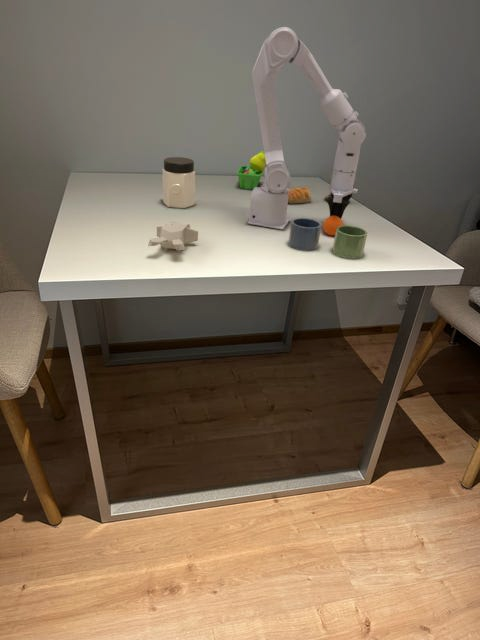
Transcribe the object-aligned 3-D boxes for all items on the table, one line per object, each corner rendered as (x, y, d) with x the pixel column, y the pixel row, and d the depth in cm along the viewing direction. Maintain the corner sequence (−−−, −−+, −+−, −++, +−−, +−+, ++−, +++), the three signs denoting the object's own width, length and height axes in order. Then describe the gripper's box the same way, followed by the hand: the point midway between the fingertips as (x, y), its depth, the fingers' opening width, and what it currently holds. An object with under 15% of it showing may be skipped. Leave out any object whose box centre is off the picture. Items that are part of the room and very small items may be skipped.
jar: (160, 206, 129) (159, 162, 123) (165, 198, 136) (165, 155, 130) (192, 209, 129) (193, 165, 123) (196, 201, 136) (197, 158, 130)
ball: (320, 237, 119) (322, 219, 116) (324, 227, 123) (326, 210, 120) (339, 240, 118) (342, 223, 115) (343, 231, 122) (346, 214, 119)
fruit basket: (240, 180, 160) (242, 146, 154) (266, 183, 159) (269, 148, 153) (235, 189, 150) (238, 152, 144) (263, 192, 149) (266, 155, 144)
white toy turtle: (202, 221, 109) (188, 236, 96) (201, 242, 111) (187, 260, 98) (162, 217, 110) (143, 231, 96) (162, 238, 112) (143, 255, 98)
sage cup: (330, 255, 108) (334, 232, 105) (334, 245, 113) (338, 223, 111) (361, 261, 106) (366, 238, 103) (363, 250, 112) (368, 228, 109)
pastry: (291, 206, 138) (292, 193, 136) (275, 200, 143) (276, 187, 141) (312, 202, 144) (314, 189, 142) (297, 196, 148) (298, 184, 146)
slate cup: (285, 247, 110) (288, 225, 107) (291, 237, 116) (294, 216, 113) (315, 252, 108) (319, 230, 106) (319, 242, 114) (323, 221, 111)
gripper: (358, 178, 110) (348, 233, 117) (362, 166, 122) (353, 216, 129) (328, 174, 111) (320, 229, 118) (335, 162, 123) (327, 212, 130)
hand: (335, 222), depth 124 cm, fingers open, 4 cm apart
